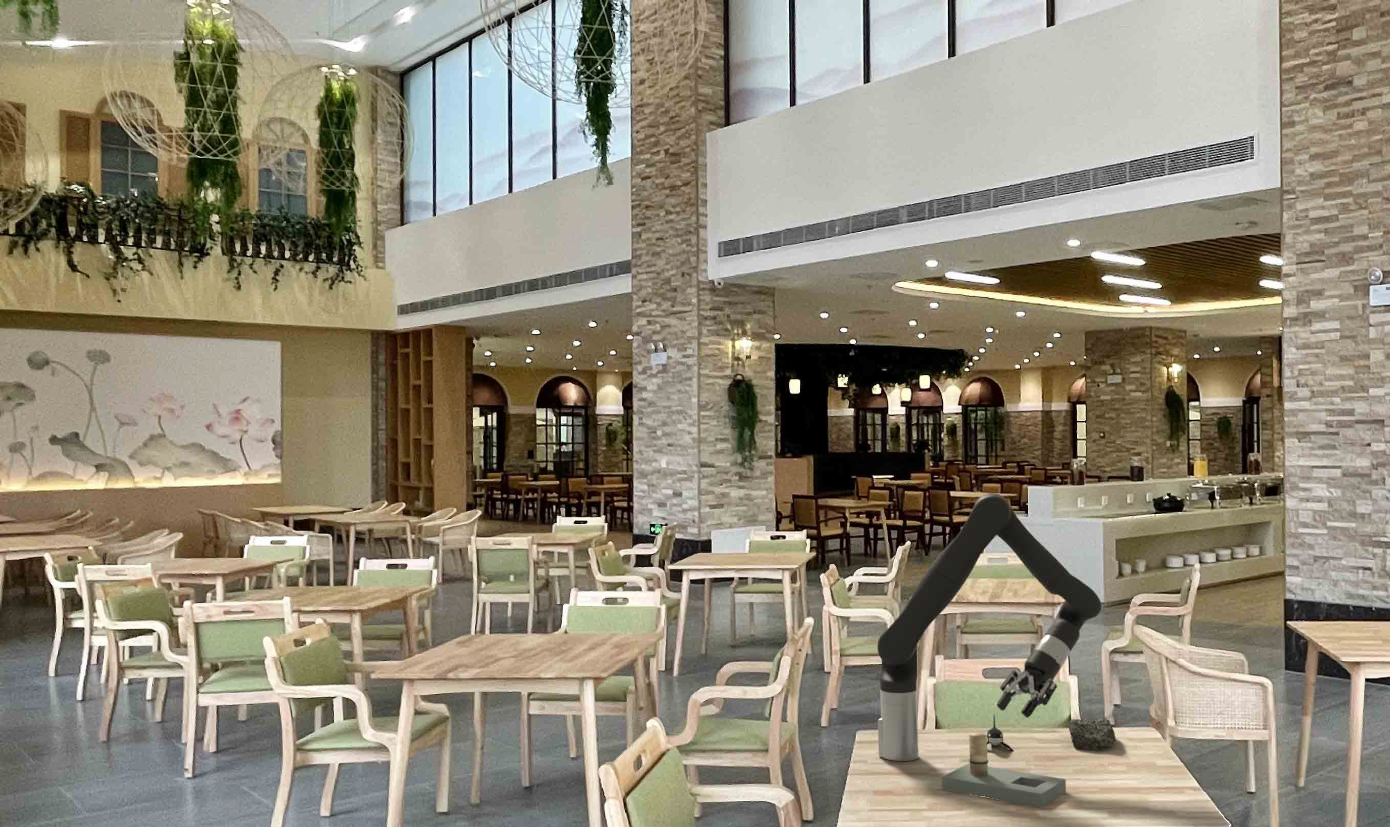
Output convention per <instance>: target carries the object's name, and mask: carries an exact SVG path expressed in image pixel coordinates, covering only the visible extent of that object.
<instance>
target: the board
mask: <svg viewBox="0 0 1390 827" xmlns="http://www.w3.org/2000/svg"><path fill="white" fill-rule="evenodd" d="M1066 781H1067V779H1066V778H1061V777H1054V776H1048V775H1042V774H1038V773H1037V774H1036V773H1030V772H1025V771H1024V772H1023V771H1017V770H1011V769H1005V768H1000V767H999V768H998V767H993V766H988V775H986V776H973V775H971V774H970V762H968V763H966V764H964V765H963V766H961V767H959V768H957V769H955V770H953V771H950V772H949V773H947V774H945V775H943V776H941V790H942V791H946V790H948V792H951V791H953V792H952V793H957V792H959V794H962V793H964V795H968V794H972V795H971V796H973V795H977V796H976V797H979V796H985V797H989V798H988V799H990V798H994V799H993V800H996V799H998V800H997V801H1001V800H1003V801H1002V802H1007V801H1008V803H1013V804H1019V805H1024V806H1028V807H1029V806H1030V807H1035V808H1040V809H1042V808H1044V807H1045V806H1047V805H1048V804H1050V803H1052V802H1054V801H1055V800H1057V799H1058V798H1060V797H1061V796H1063V795H1064V794H1065V793H1067V787H1066V785H1067V783H1066ZM985 797H984V798H985Z"/></svg>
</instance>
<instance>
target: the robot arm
mask: <svg viewBox="0 0 1390 827" xmlns="http://www.w3.org/2000/svg"><path fill="white" fill-rule="evenodd" d="M996 537H999V538H1000V540H1002V541H1003V542H1004V543H1005V544H1006V545H1007V546H1008V547H1009V548H1010V549H1011V550H1012V551H1013V552H1014V554H1015V555H1016V556H1017V557H1018V559H1019V560H1020V561H1021V563H1022V564H1023V565H1024V567H1025V568H1026V569H1027V570H1028V571H1029V573H1030V574H1031V575H1032V576H1033V577H1034V578H1035V579H1036V581H1038V582H1039V583H1040V585H1041V586H1043V588H1045V590H1046V591H1047V592H1049V593H1050V594H1051V595H1056V596H1059V597H1060V598H1061V599H1063V600H1064V601H1063V603H1062V604H1061V605H1060V608H1059V609H1058V612H1057V613H1056V616H1055V619H1054V621H1053V622H1052V624H1051V625H1050V627H1049V628H1048V629H1047V631H1046V633H1045V634H1044V635H1043V637H1041V639H1040V640H1039V641H1038V642H1037V644H1036V646H1035V647H1034V649H1033V650H1032V651H1031V653H1030V655H1029V656H1028V657H1027V659H1026V660H1025V662H1024V664H1023V665H1024V666H1023V667H1024V670H1023V671H1022V672H1021V673H1019V672H1017V671H1016V670H1015V669H1013V670H1011V671H1010V673H1009V674H1008V675H1007V676H1006V677H1005V680H1004V681H1003V682H1002V684H1001V685H1000V687H999V688H1000V690H1001V692H1003V693H1002V694H1001V697H1000V698H999V699H998V700H997V704H996V706H997V707H998V709H999V710H1000V711H1005V709H1006V708H1007V707H1008V705H1009V704H1010V702H1011V701H1012V699H1013V698H1014V697H1016V696H1017V695H1018V696H1020V695H1022V694H1029V695H1030V699H1028V700H1027V702H1026V703H1025V705H1024V707H1023V708H1022V709H1021V714H1022V715H1023V717H1025V718H1028V719H1029V718H1030V717H1031V715H1033V713H1034V711H1035V710H1036V708H1037V707H1039V706H1040V705H1043V706H1046V705H1048V703H1049V701H1050V700H1051V698H1052V696H1053V695H1054V693H1055V691H1056V689H1057V688H1058V685H1057V684H1056V682H1055V681H1054V679H1056V678H1055V677H1056V676H1057V675H1058V673H1060V672H1059V671H1060V670H1061V669H1062V667H1063V666H1064V664H1065V663H1066V661H1067V659H1068V657H1069V654H1070V653H1071V652H1072V650H1073V649H1074V647H1075V646H1076V644H1077V642H1078V640H1079V638H1080V635H1081V634H1080V630H1081V629H1082V627H1083V626H1084V624H1085V623H1086V622H1087V621H1089V620H1092V619H1094V618H1096V617H1098V615H1099V614H1100V613H1101V610H1102V603H1101V599H1100V597H1099V596H1098V594H1097V593H1096V592H1095V590H1093V589H1092V588H1091V587H1090V586H1088V585H1087V584H1086V583H1084V582H1083V581H1081V580H1080V579H1078V578H1077V577H1076V576H1074V575H1073V574H1071V573H1070V572H1069V570H1068V569H1066V567H1065V566H1064V565H1063V564H1062V563H1061V562H1060V561H1059V559H1057V558H1056V557H1055V556H1054V554H1052V553H1051V552H1050V551H1049V550H1048V549H1047V548H1046V547H1045V546H1044V545H1043V544H1042V543H1040V541H1039V540H1038V539H1036V537H1035V536H1034V535H1033V534H1032V533H1031V532H1030V531H1029V530H1028V529H1027V528H1026V527H1025V525H1024V524H1023V522H1021V520H1020V518H1019V517H1018V516H1017V514H1016V513H1015V511H1014V509H1012V507H1011V505H1010V503H1009V502H1008V500H1007V498H1005V497H1004V496H1003V495H1001V494H998V493H993V492H992V493H985V494H983V495H981V496H979V498H978V499H977V500H976V501H975V503H974V505H973V507H972V510H971V511H970V514H969V516H968V517H967V519H966V521H965V522H964V525H963V526H962V528H961V529H960V531H959V533H958V534H957V535H956V536H955V538H954V539H953V540H952V541H950V543H948V545H947V546H946V547H945V548H944V549H943V550H942V551H941V553H940V554H939V555H938V556H937V557H936V558H935V560H934V561H933V562H932V563H931V565H930V566H929V567H928V569H927V570H926V572H925V573H924V575H923V576H922V578H921V579H920V581H919V583H918V585H917V586H916V587H915V589H914V591H913V593H912V594H911V596H910V598H909V600H908V602H907V604H906V605H905V607H904V609H903V610H902V612H901V613H900V614H899V615H898V617H897V618H895V620H894V622H893V623H892V624H890V625H889V627H888V628H887V629H886V630H884V632H883V633H882V634H881V635H880V636H879V638H878V640H877V645H876V646H877V652H878V653H877V654H878V656H879V658H880V659H881V672H880V673H881V674H880V679H879V684H880V685H879V687H880V688H879V690H880V692H879V693H880V718H878V720H877V731H878V732H877V735H878V736H877V737H878V738H877V739H878V740H877V741H878V757H881V758H884V759H885V760H888V761H895V762H907V761H908V762H909V761H914V760H917V759H918V758H919V732H918V730H919V729H918V728H919V726H918V725H919V724H918V723H919V722H918V696H917V695H918V692H917V691H918V690H917V689H918V688H917V685H918V684H917V682H918V644H919V642H920V640H921V638H922V637H923V635H924V634H925V632H926V631H927V629H928V627H930V625H931V624H932V623H933V622H934V621H935V619H937V617H939V615H940V614H941V613H942V612H944V610H945V609H946V607H948V606H949V604H950V603H951V602H952V600H954V598H955V597H956V596H957V594H958V593H959V591H960V590H961V589H962V587H963V586H964V584H965V583H966V581H967V580H968V578H969V576H970V575H971V573H972V571H973V570H974V568H975V566H976V564H977V562H978V560H979V558H980V557H981V555H982V553H983V552H984V551H985V549H986V548H987V547H988V546H989V545H990V543H991V542H992V541H993V540H994V538H996ZM1017 686H1018V687H1017Z"/></svg>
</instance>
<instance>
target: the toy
mask: <svg viewBox="0 0 1390 827" xmlns="http://www.w3.org/2000/svg"><path fill="white" fill-rule="evenodd" d="M986 735H987V745H989V744H991V745H993V746H998V745H1000V744H1001V745H1003V746H1004V747H1005V748H1007V749H1009V750H1011V751H1013V752H1014V751H1015V750H1014V749H1013V748H1012V747H1011V746H1010V745H1008V744H1007V743H1005V742H1004V741H1003V740H1004V736H1003V731H1002V730H1000V729H999V728H997V727H996V717H995V715H993V726H992V728H991V729H988V731H987V733H986Z"/></svg>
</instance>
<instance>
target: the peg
mask: <svg viewBox="0 0 1390 827" xmlns="http://www.w3.org/2000/svg"><path fill="white" fill-rule="evenodd" d="M968 738H969V739H968V741H969V744H968V745H969V759H968V763H969V764H970V774H971V775H973V776H986V775H988V767H989V766H988V765H989V760H988V744H987V741H988V739H987V733H981V732H972V733H969V735H968Z"/></svg>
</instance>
